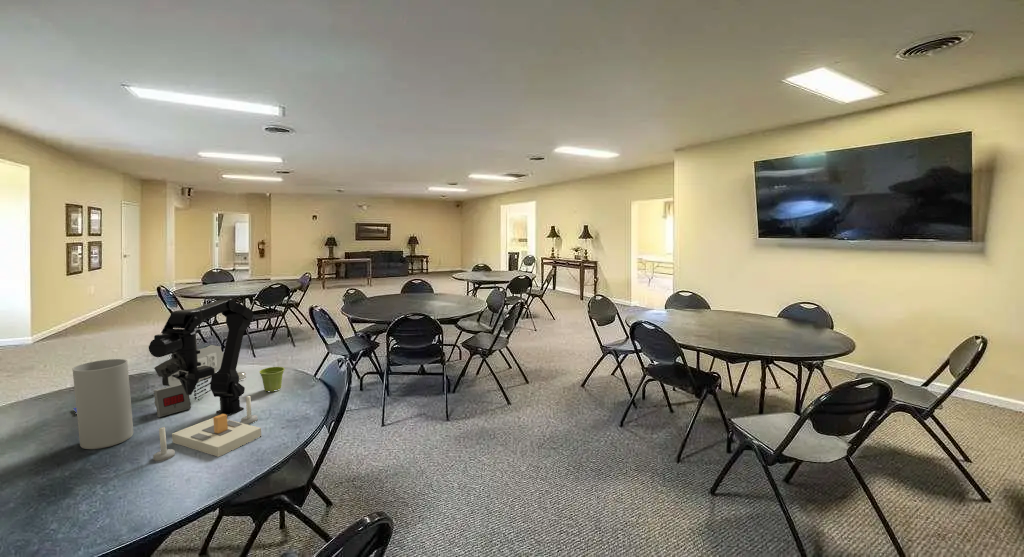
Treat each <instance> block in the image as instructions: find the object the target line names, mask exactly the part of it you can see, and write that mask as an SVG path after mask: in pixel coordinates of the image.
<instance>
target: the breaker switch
mask: <svg viewBox="0 0 1024 557" xmlns="http://www.w3.org/2000/svg"><path fill="white" fill-rule="evenodd" d="M212 418H213V420H214V432H215V433H221V432H223V431H226V430H228V424H227V419H228V415H226V414H218V415H216V416H213V417H212Z"/></svg>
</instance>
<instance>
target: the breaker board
mask: <svg viewBox="0 0 1024 557" xmlns="http://www.w3.org/2000/svg"><path fill="white" fill-rule="evenodd" d="M227 424H228V430H226V431H223V432H221V433H215V432H214V420H213V417H212V418H210V419H206V420H204V421H201V422H199V423H196V424H194V425H191V426H188V427H185V428H182V429H180V430H177V431H176V432H173V433H171V439H172V443H173V444H176V445H179V446H183V447H186V448H189V449H192V450H196V451H199V452H201V453H205V454H208V455H211V456H215V457H217V458H218V457H222V456H223V455H225V454H228V453H229V452H232V451H235V450H236V449H238V448H240V446H241V447H243V446H245V445H247V444H248V442H249V443H252V442H254V441H255V440H254V439H256V438H258V437H260V436H261V437H262V427H258V426H254V425H252V424H244V423H241V421H240V422H239V421H235V420H231V419H228V418H227ZM261 437H260V438H261ZM258 439H259V438H258ZM256 440H257V439H256ZM246 443H247V444H246ZM242 445H243V446H242ZM231 450H232V451H231Z"/></svg>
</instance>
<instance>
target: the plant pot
mask: <svg viewBox="0 0 1024 557" xmlns="http://www.w3.org/2000/svg"><path fill="white" fill-rule="evenodd" d="M284 371H285V367H283V366H271V367H265V368H263V369H261V370H259V371H258V372H259V374H260V377H261V379H262V384H263V389H264V392H266V391H271V392H274V390H278V389H280V388H281V389H282V382H283V374H284ZM281 389H280V390H281ZM278 391H279V390H278Z"/></svg>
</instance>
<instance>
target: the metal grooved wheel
mask: <svg viewBox="0 0 1024 557" xmlns="http://www.w3.org/2000/svg"><path fill="white" fill-rule="evenodd" d="M237 373H238V376H239V380H241V379H244V378H246V379H247V376H246V375H247V373H246V372H245V371H240V372H238V371H237Z"/></svg>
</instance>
